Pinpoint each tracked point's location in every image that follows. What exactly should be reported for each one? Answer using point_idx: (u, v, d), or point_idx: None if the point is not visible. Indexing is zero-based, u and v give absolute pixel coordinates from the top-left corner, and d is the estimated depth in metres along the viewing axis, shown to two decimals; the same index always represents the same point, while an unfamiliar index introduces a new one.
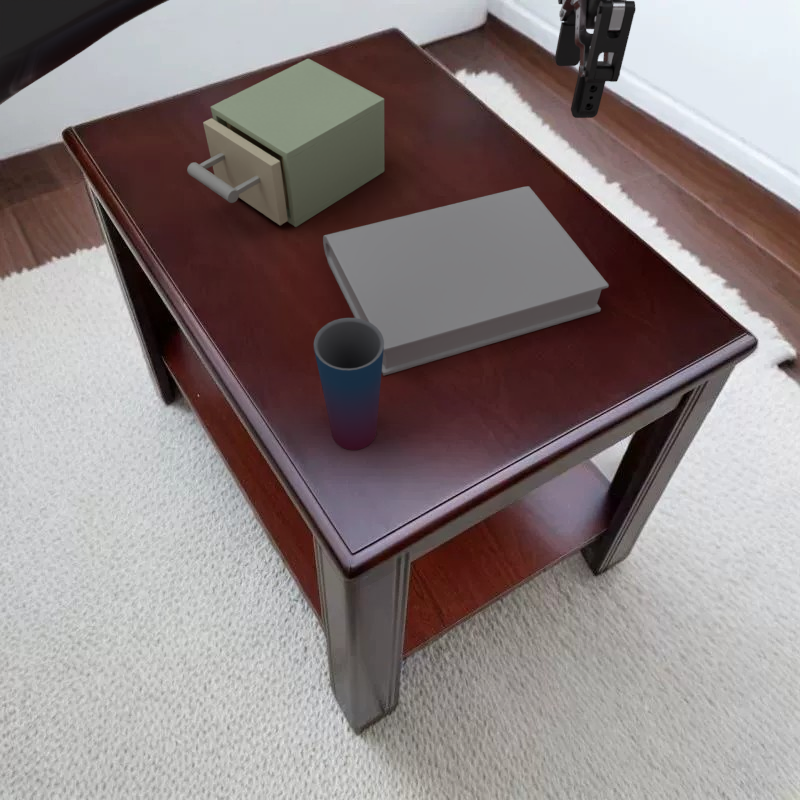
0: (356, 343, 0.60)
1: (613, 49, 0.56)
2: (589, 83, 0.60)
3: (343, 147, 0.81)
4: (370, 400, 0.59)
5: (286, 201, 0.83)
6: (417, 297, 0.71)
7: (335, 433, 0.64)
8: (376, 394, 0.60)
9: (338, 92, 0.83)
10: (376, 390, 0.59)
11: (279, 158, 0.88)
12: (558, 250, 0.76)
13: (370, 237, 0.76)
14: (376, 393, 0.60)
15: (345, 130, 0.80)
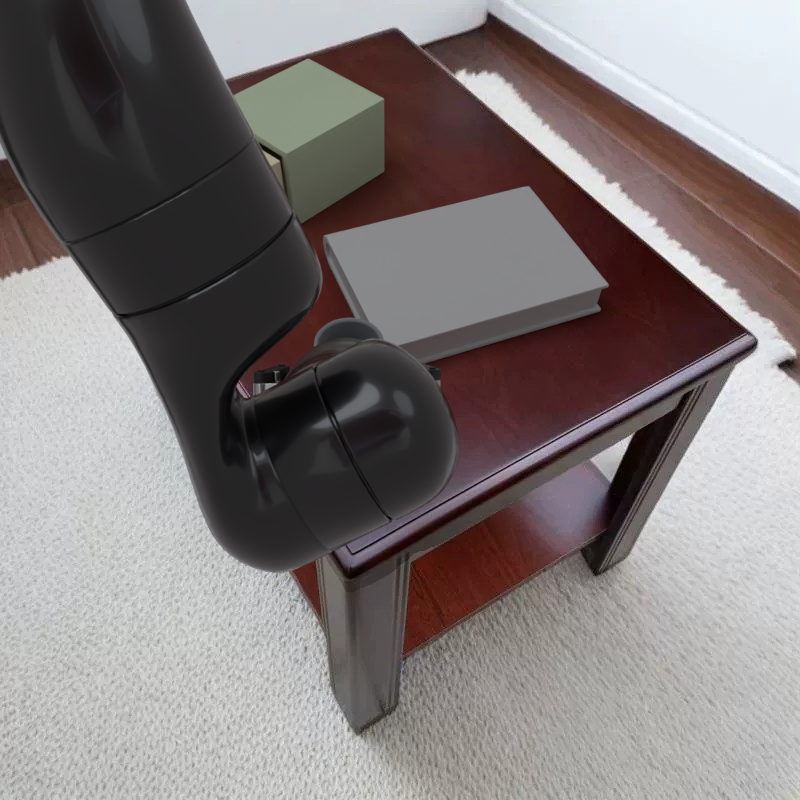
0: None
1: None
2: None
3: (343, 147, 0.81)
4: None
5: None
6: (417, 297, 0.71)
7: None
8: None
9: (338, 92, 0.83)
10: None
11: (279, 158, 0.88)
12: (558, 250, 0.76)
13: (370, 237, 0.76)
14: None
15: (345, 130, 0.80)
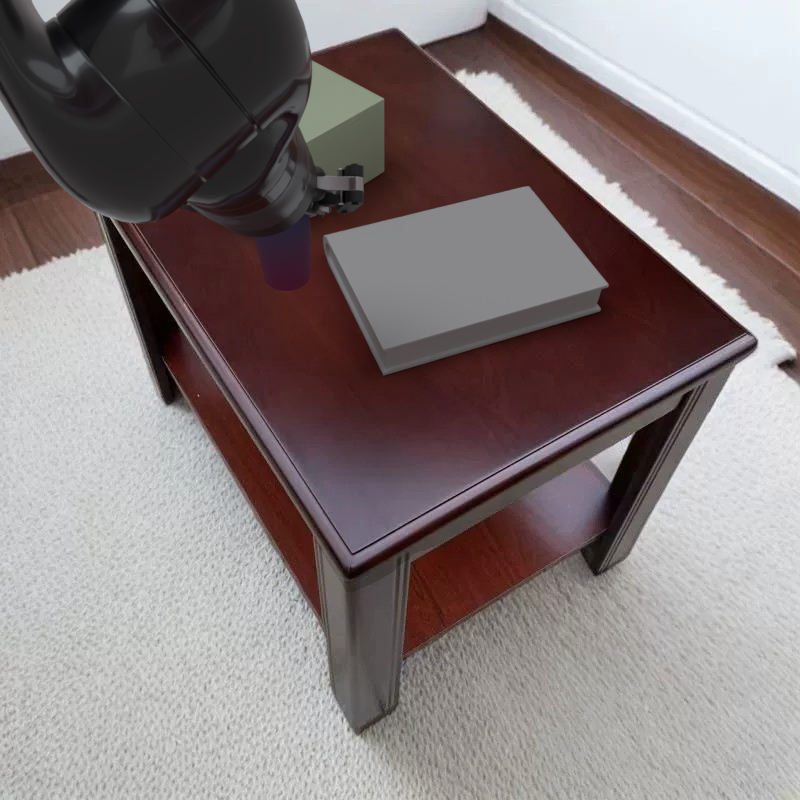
0: None
1: None
2: None
3: (343, 147, 0.81)
4: (297, 222, 0.56)
5: None
6: (417, 297, 0.71)
7: (265, 270, 0.60)
8: (304, 217, 0.56)
9: (338, 92, 0.83)
10: None
11: None
12: (558, 250, 0.76)
13: (370, 237, 0.76)
14: (304, 216, 0.56)
15: (345, 130, 0.80)
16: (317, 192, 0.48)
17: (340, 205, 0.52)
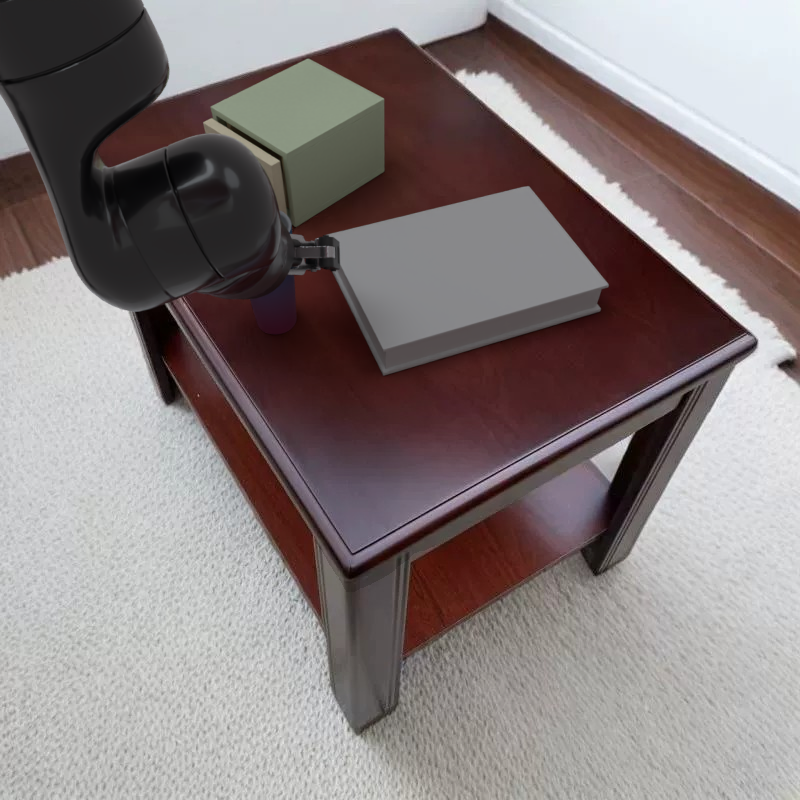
0: None
1: None
2: None
3: (343, 147, 0.81)
4: (283, 281, 0.68)
5: (286, 201, 0.83)
6: (417, 297, 0.71)
7: (257, 317, 0.72)
8: (289, 277, 0.68)
9: (338, 92, 0.83)
10: None
11: (279, 158, 0.88)
12: (558, 250, 0.76)
13: (370, 237, 0.76)
14: (289, 276, 0.68)
15: (345, 130, 0.80)
16: (295, 261, 0.59)
17: None
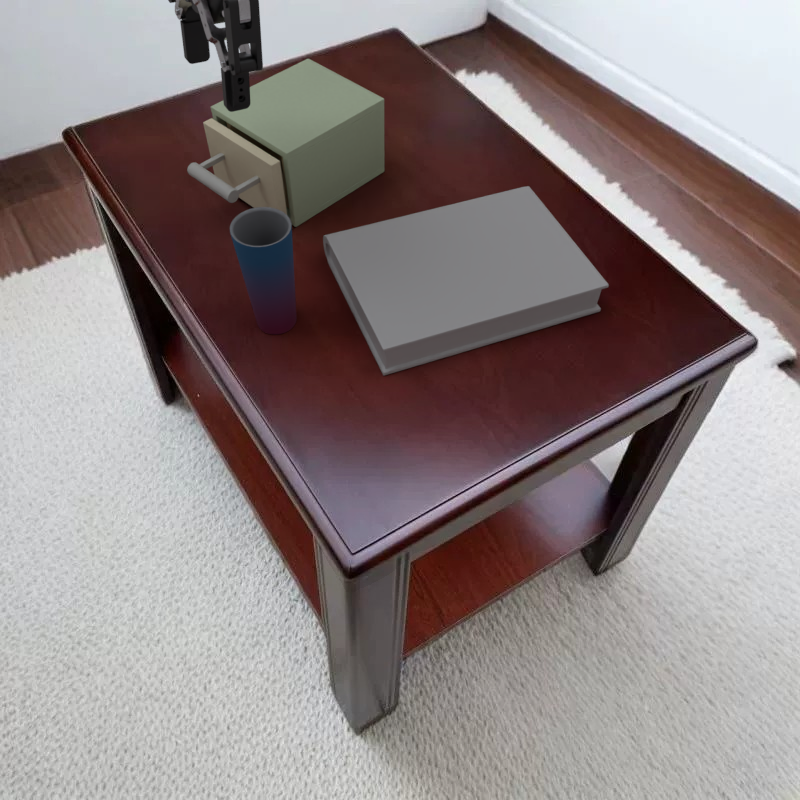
0: (271, 232, 0.68)
1: (250, 40, 0.57)
2: (235, 76, 0.60)
3: (343, 147, 0.81)
4: (283, 281, 0.68)
5: (286, 201, 0.83)
6: (417, 297, 0.71)
7: (257, 317, 0.72)
8: (289, 277, 0.68)
9: (338, 92, 0.83)
10: (288, 272, 0.67)
11: (279, 158, 0.88)
12: (558, 250, 0.76)
13: (370, 237, 0.76)
14: (289, 276, 0.68)
15: (345, 130, 0.80)
16: None
17: None
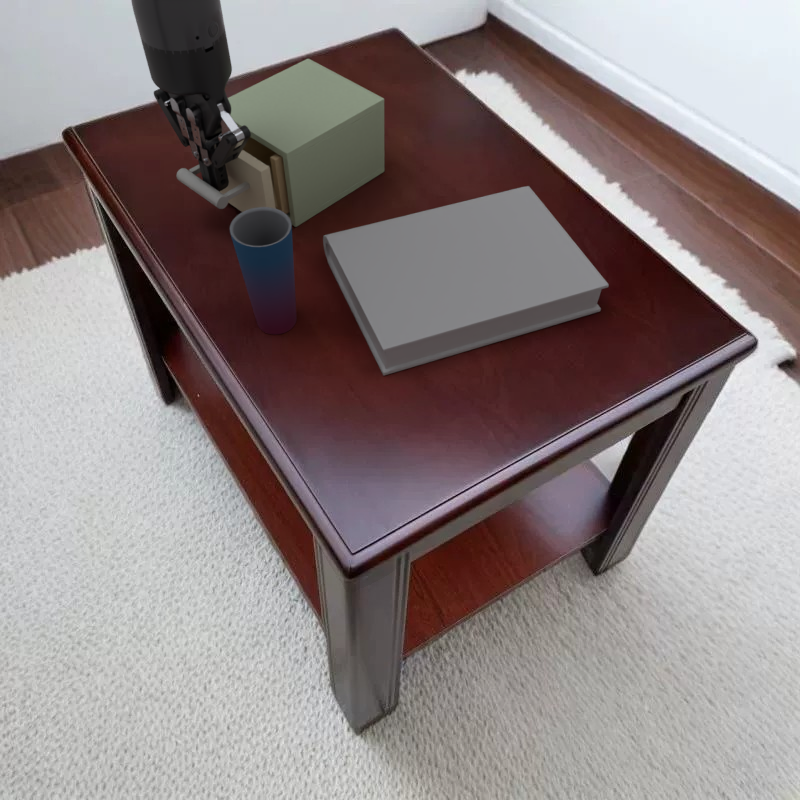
0: (271, 232, 0.68)
1: (235, 152, 0.73)
2: (216, 167, 0.76)
3: (343, 147, 0.81)
4: (283, 281, 0.68)
5: (276, 207, 0.82)
6: (417, 297, 0.71)
7: (257, 317, 0.72)
8: (289, 277, 0.68)
9: (338, 92, 0.83)
10: (288, 272, 0.67)
11: (270, 163, 0.87)
12: (558, 250, 0.76)
13: (370, 237, 0.76)
14: (289, 276, 0.68)
15: (345, 130, 0.80)
16: None
17: None
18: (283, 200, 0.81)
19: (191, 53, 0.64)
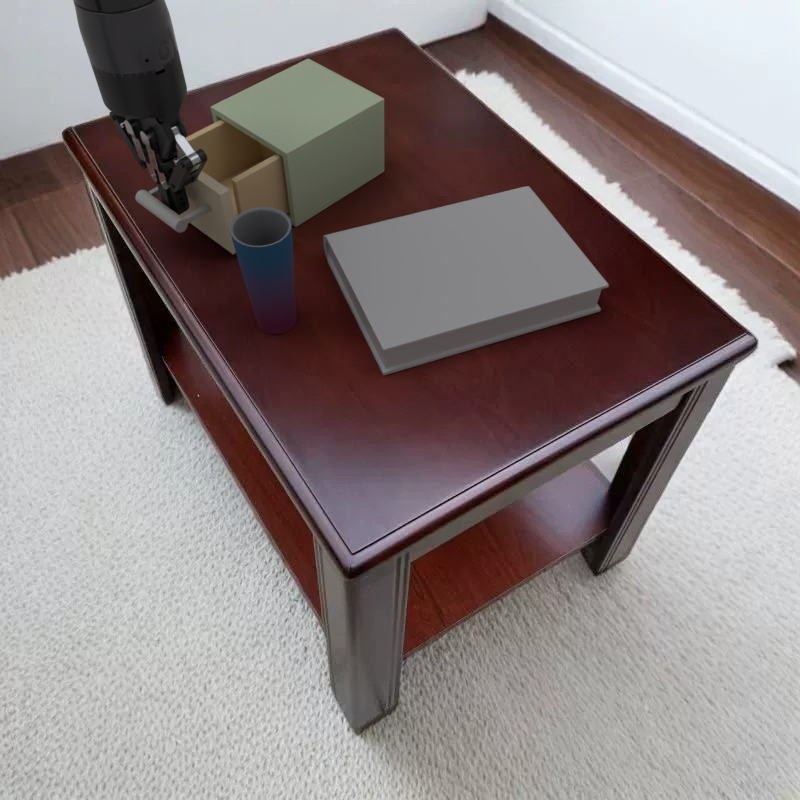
0: (271, 232, 0.68)
1: (193, 175, 0.70)
2: None
3: (343, 147, 0.81)
4: (283, 281, 0.68)
5: None
6: (417, 297, 0.71)
7: (257, 317, 0.72)
8: (289, 277, 0.68)
9: (338, 92, 0.83)
10: (288, 272, 0.67)
11: None
12: (558, 250, 0.76)
13: (370, 237, 0.76)
14: (289, 276, 0.68)
15: (345, 130, 0.80)
16: None
17: None
18: None
19: (141, 76, 0.62)
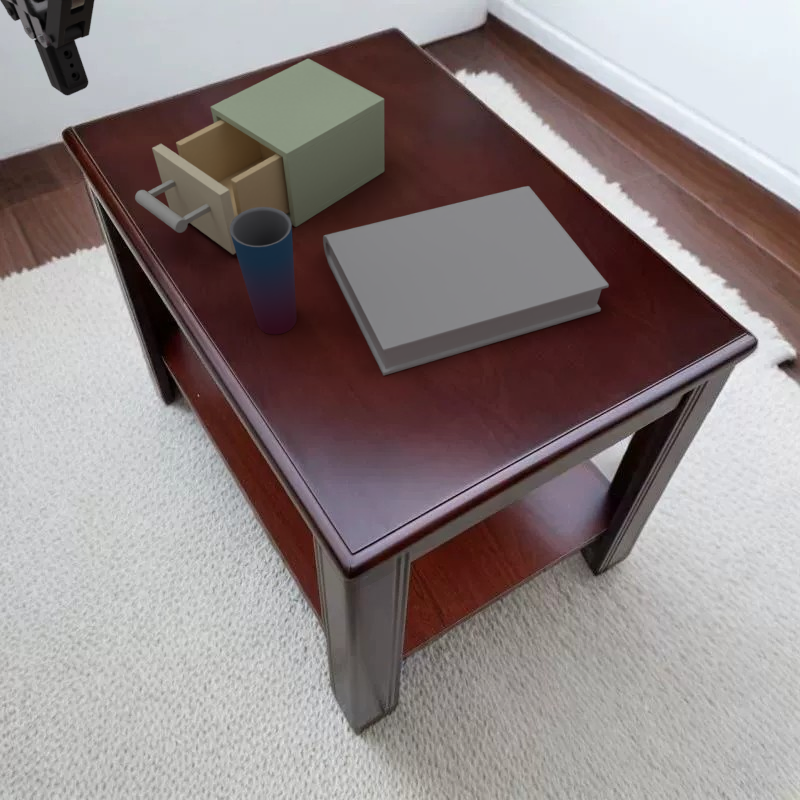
0: (271, 232, 0.68)
1: (79, 19, 0.47)
2: (60, 50, 0.50)
3: (343, 147, 0.81)
4: (283, 281, 0.68)
5: None
6: (417, 297, 0.71)
7: (257, 317, 0.72)
8: (289, 277, 0.68)
9: (338, 92, 0.83)
10: (288, 272, 0.67)
11: None
12: (558, 250, 0.76)
13: (370, 237, 0.76)
14: (289, 276, 0.68)
15: (345, 130, 0.80)
16: None
17: None
18: None
19: None
